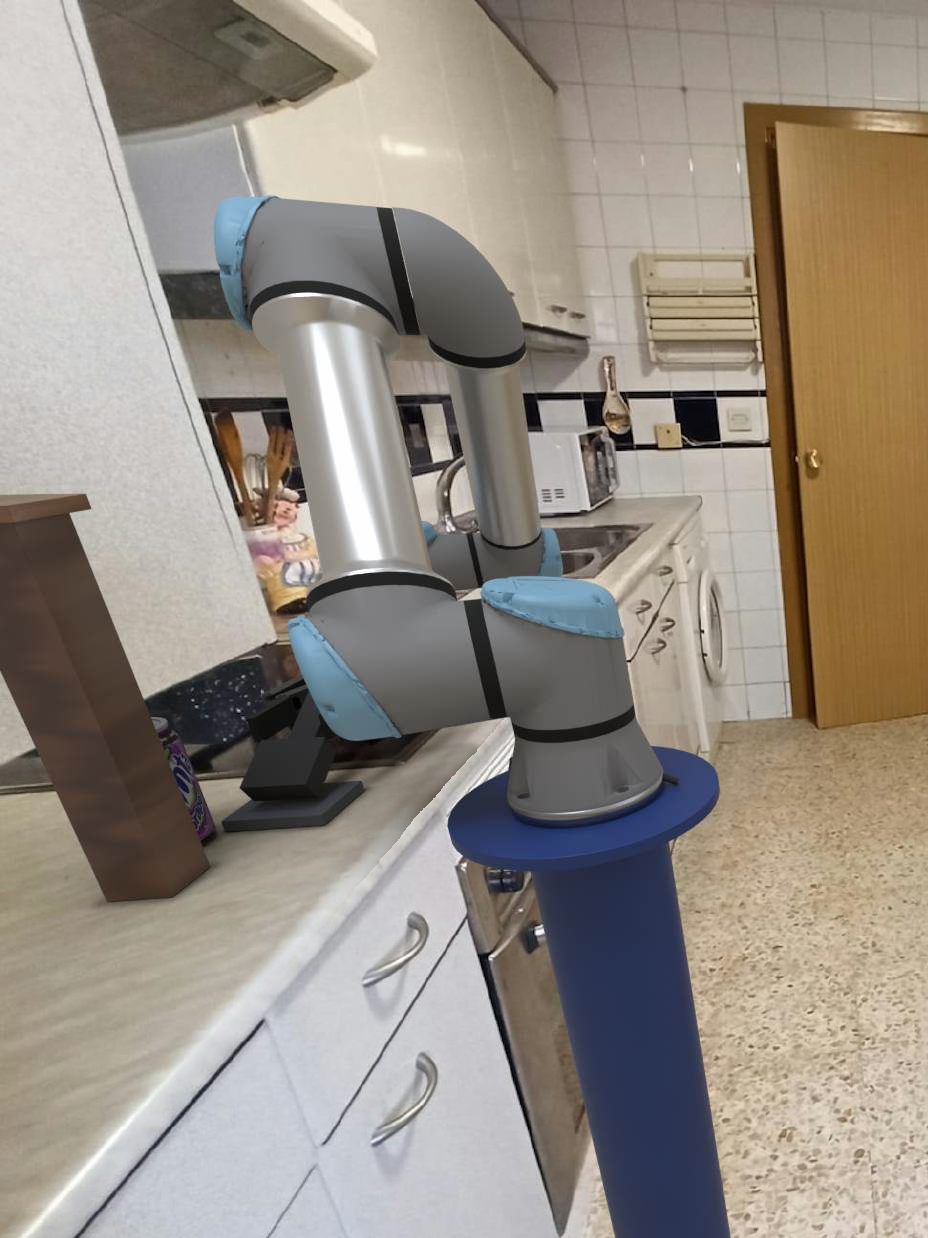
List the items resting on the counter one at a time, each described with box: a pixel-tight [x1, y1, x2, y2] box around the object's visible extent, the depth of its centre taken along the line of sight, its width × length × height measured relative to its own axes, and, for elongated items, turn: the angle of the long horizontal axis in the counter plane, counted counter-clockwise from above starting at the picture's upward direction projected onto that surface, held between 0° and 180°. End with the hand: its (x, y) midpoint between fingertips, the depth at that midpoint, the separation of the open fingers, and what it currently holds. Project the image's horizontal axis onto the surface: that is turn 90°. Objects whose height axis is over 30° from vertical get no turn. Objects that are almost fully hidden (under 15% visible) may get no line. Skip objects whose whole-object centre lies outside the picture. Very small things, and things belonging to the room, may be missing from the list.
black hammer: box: [239, 691, 338, 801], centre depth 90 cm, size 6×15×2 cm
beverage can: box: [151, 716, 216, 842], centre depth 79 cm, size 7×7×12 cm
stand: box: [0, 493, 212, 903], centre depth 69 cm, size 6×7×33 cm
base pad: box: [220, 780, 365, 833], centre depth 88 cm, size 9×8×1 cm
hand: (290, 728), depth 88 cm, fingers closed on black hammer, 6 cm apart
